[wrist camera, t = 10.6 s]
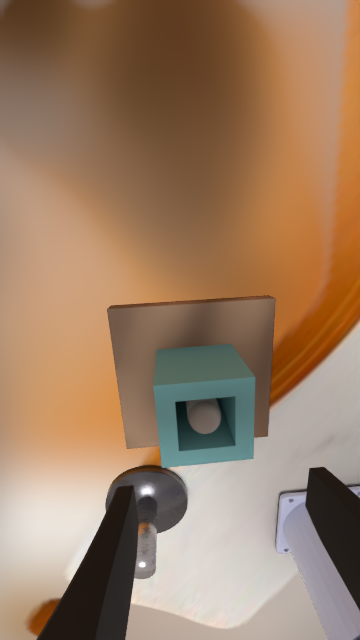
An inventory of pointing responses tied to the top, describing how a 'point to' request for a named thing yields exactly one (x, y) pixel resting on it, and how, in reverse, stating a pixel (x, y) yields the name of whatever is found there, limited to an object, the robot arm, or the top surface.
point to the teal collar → (203, 383)
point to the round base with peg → (152, 509)
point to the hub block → (179, 332)
